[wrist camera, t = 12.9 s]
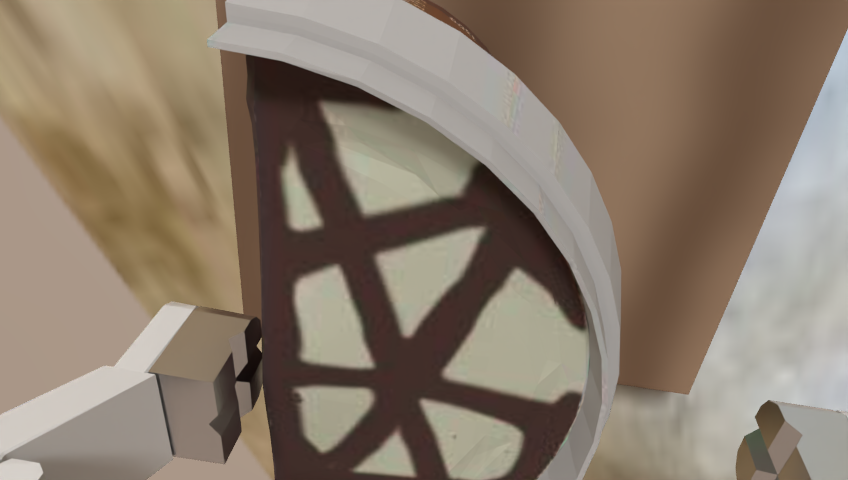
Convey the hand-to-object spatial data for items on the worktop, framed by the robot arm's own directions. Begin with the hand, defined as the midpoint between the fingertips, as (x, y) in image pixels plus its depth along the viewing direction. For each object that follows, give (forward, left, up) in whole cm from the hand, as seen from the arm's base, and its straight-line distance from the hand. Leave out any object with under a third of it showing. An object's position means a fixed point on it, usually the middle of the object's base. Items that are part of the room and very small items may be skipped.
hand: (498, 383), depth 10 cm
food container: (+2, 0, -9) cm, 9 cm away
